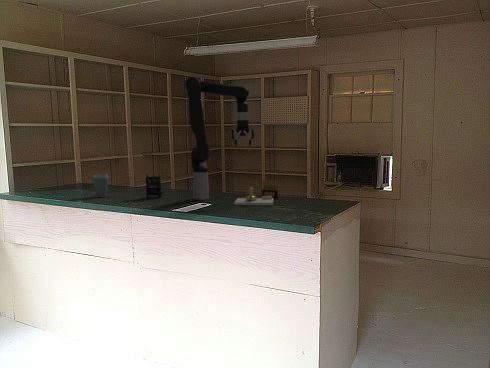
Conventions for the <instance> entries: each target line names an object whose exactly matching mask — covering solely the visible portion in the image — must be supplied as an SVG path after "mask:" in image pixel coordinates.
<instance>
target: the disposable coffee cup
mask: <svg viewBox="0 0 490 368" xmlns="http://www.w3.org/2000/svg"><path fill="white" fill-rule="evenodd" d="M91 179H92V183H93V188H94V191H95V196H96V198H98V197H101V198H106V197H107V196H108V188H109V186H108V185H109V175H108V173H97V174H93V175H92V177H91Z"/></svg>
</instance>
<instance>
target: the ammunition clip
mask: <svg viewBox="0 0 490 368" xmlns="http://www.w3.org/2000/svg"><path fill="white" fill-rule="evenodd" d="M278 188H279V187H278V180H277V179H273V180H272V179H269V178H268V179H264V178H263V179H262V188H261V197H262V196H272V198H274V200H275V199H276V200H277V199H279V190H278Z"/></svg>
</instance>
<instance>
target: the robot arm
mask: <svg viewBox="0 0 490 368" xmlns="http://www.w3.org/2000/svg"><path fill="white" fill-rule="evenodd" d="M184 89H185V90H186V92H187V96H188V120H189V125H190V129H191V131H192V133H193V135H194V137H195V141H196V146H194V147H193V148H192V150H191V154H190V155H191V156H190V158H191V168H192V170H193V173H192V174H193V184H192V198H193V200H197V201H203V200H205V201H206V200H208V199H209V198H210V195H209V167H208V166H207V165H206V163H205V162H207V161H208V160H209V158H210V156H211V151H210V148H209V146H210V145H209V143H208V138H207V137H208V136H207V131H206V129H207V128H206V121H205V114H204V108H203V103H202V98H201V97H202V96H201V94H202V93H206V94H212V95H217V96H222V97H229V98H230V97H233V98H235V101H236V129H234V128H233V129H231V139H232V140H234V145H235V146H238V138H239V137H244V136H246V137H247V138H248V146H251V145H252V139H255V129H254V128H250V125H249V124H250V118H249V104H248V102H247V98H248V97H249V95H250V91H249V89H248V88H247V87H245V86H238V85H231V84H226V83H225V84H224V83H215V82H214V83H213V82H207V81H202V80H200V79H198V77H197V76H190V77H188V78H186V79H185V81H184ZM249 132H250V133H251V135H250V134H249ZM235 133H237V134H236V135H235ZM209 200H210V199H209Z"/></svg>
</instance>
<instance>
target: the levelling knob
mask: <svg viewBox="0 0 490 368" xmlns="http://www.w3.org/2000/svg"><path fill="white" fill-rule="evenodd" d="M248 192H249V194H248V195H246V197H245V198H246V200H256V198H257V195H254V187H252V186H250V187H249V191H248Z"/></svg>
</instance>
